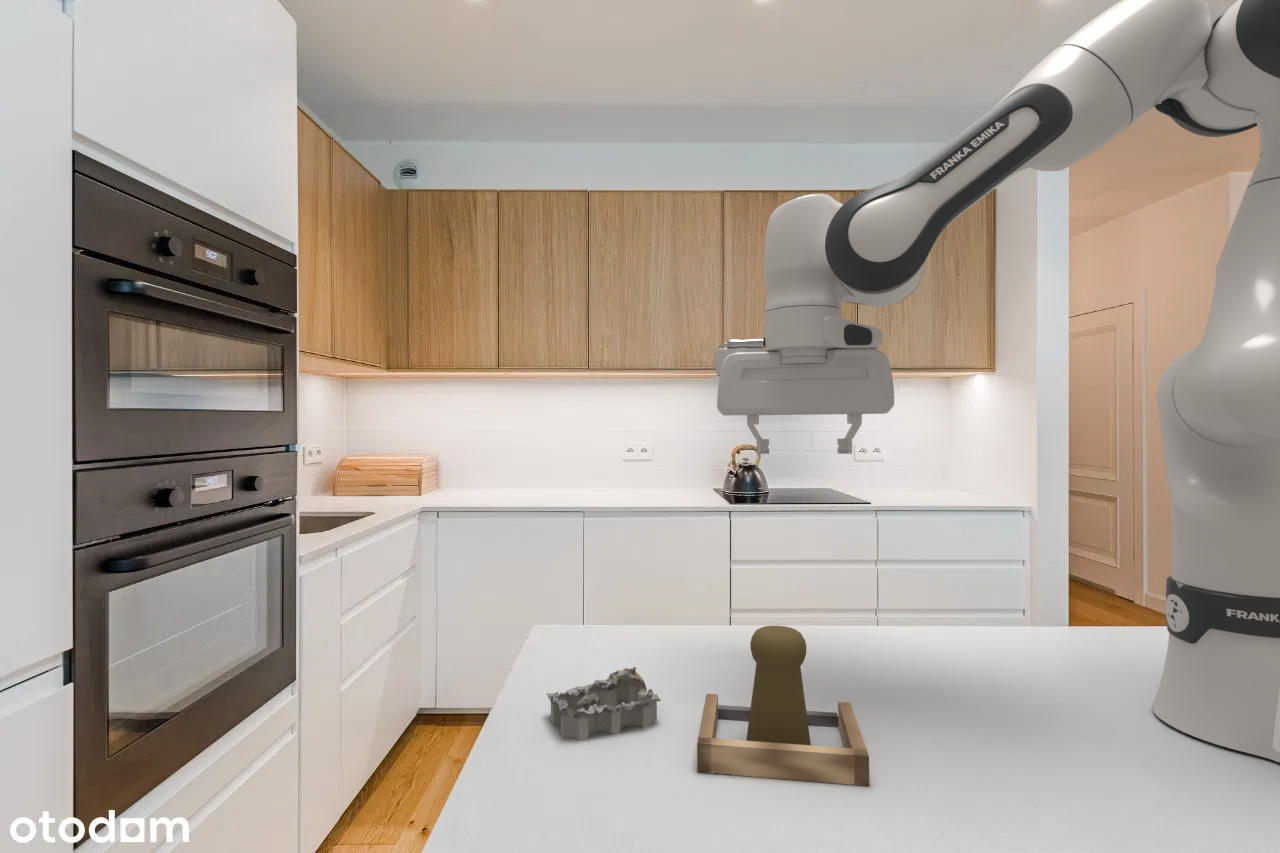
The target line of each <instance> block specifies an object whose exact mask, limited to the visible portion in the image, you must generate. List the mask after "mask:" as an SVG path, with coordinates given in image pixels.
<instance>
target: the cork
mask: <svg viewBox="0 0 1280 853" xmlns="http://www.w3.org/2000/svg"><path fill="white" fill-rule="evenodd" d="M749 644H750V652H751V657H752V659H753V660H754V661H755V672H754V680H753V685H752V696H751V702H750V707H751V708H750V716H749V721H748V724H747V725H748V726H747V734H746V740H745V741H756V742H770V743H784V744H798V745H811V746H812V744H811V738H810V737H811V735H810V728H809V725H808V720H807V712H806V711H807V708H806V707H807V705H806V699H805V692H804V683H803V675H802V669H801V668H802V667H801V666H802V664H803V663H804V662H805V659H806V655H807V643H806V640H805V638H804V636H803V634H802V633H801V632H800V631H798V630H797V629H796V628H792V627H790V626H789V627H788V626H783V625H766V626H762V627H760V628H757V629H755V631H754V632H753V634H752V636H751V639H750V643H749Z"/></svg>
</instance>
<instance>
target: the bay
mask: <svg viewBox="0 0 1280 853" xmlns="http://www.w3.org/2000/svg"><path fill="white" fill-rule="evenodd" d="M704 698H705V699H704V703H703V704H704V705H703V708H702V709H703V710H702V714H701V720H700V727H699V732H698V737H697V743H696V746H697V748H696V752H697V755H696V756H697V757H696V758H697V760H696V762H697V763H696V764H697V765H696V767H697V769H696V771H697V773H702V772H713V773H712V774H714V773H719V774H718V775H727V774H731V775H730V776H742V777H751V778H752V777H754V778H767V779H775V780H776V779H779V780H789V781H802V782H816V783H817V782H818V783H826V784H827V783H828V784H839V785H851V786H864V787H870V754H869V752H868V749H867V747H866V742H865V740H864V737H863V734H862V732H861V728H860V726H859V724H858V720H857V717H856V715H855V711H854V708H853V706H852V704H851V702H845V701H838V702H837V709H838V710H837V712H833V711H832V712H831V711H821V710H820V711H819V710H818V711H817V710H806V712H807V720H808V726H820V727H821V726H823V727H824V726H825V727H838V728H837V729H838V731H839V735H840V738H841V741H842V742H841V743H842V745H843V747H840V746H839V747H837V746H825V745H812V744H811V745H798V744H784V743H770V742H756V741H746V740H739V739H729V738H727V739H726V738H716V737H717V730H718V722H719V719H721V720H731V721H732V720H733V721H734V720H735V721H748V722H749V716H750V708H751V706H743V705H742V706H741V705H723V704H719V694H718V693H717V694H716V693H706V694H705V697H704Z"/></svg>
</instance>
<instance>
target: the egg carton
mask: <svg viewBox="0 0 1280 853" xmlns="http://www.w3.org/2000/svg"><path fill="white" fill-rule="evenodd" d="M546 696H547V699H548V701H550V722H551V724H552V725H560V736H562V738H563V739H575V740H577V741H579V742H582V741H587V740H589V736H590V735H591V734H594V733H597V732H604V733H605V732H606V733H608V734H611V735H615V734H621V732H622V728H625V727H627V726H637V727H640V728H644V729H645V728H649V727H652V725H653V721H655V720H657V717H658V716H657V715H658V714H657V713H658V704H657V703H658V702H662V700H661V698H660V697H659V695H658V694H657V693H654V690H653V689H652V688H651V689H648V688H647V685H646V683H645V680H644V678H643V677H642V676H641V675H640V673H639V672H637V667H632V668H623V669H622V670H619V669H618V670H616V671H613V672H610V673H609V676H608V677H607V679H596V680H595V681H594V682H593V683H589V684H587V685H584V686H579V685H577V686H575V687H573V688H570V689H568V690H566V691H564V692H560V693H559V692H558V691H557V692H554V693H553V692H550V693H546ZM618 704H620V706H618Z"/></svg>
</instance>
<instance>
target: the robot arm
mask: <svg viewBox="0 0 1280 853" xmlns="http://www.w3.org/2000/svg"><path fill="white" fill-rule="evenodd" d="M1153 108H1155V110H1157V111H1158V112H1160V113H1162V114H1164V115H1166V116H1168V117H1170V118H1171V119H1172V120H1173V121H1174V122H1175V124H1177V125H1178V126H1180V128H1182V129H1185V130H1186V131H1188V132H1189V133H1192V134H1195V135H1198V136H1202V137H1208V138H1210V137H1211V138H1220V137H1227V136H1232V135H1235V134H1239V133H1243V132H1246V131H1248V130H1251V129H1253V128H1255V127H1257V128H1258V134H1259V139H1260V140H1259V141H1260V145H1259V146H1260V147H1259V152H1258V158H1259V159H1258V161H1257V163H1256V165H1255V168H1254V170H1253V172H1252V174H1251V176H1250V179H1249V182H1248V184H1247V187H1246V188H1245V190H1244V194H1243V195H1242V196H1243V197H1242V198H1241V201H1240V204H1239V206H1238V209H1237V212H1236V215H1235V216H1234V220H1233V222H1232V225H1231V228H1230V230H1229V232H1228V235H1227V237H1226V241H1225V243H1224V246H1223V249H1222V251H1221V254H1220V256H1219V259H1218V262H1217V264H1216V267H1215V285H1214V290H1213V294H1212V299H1211V306H1210V308H1209V314H1208V318H1207V322H1206V326H1205V329H1204V333H1203V336H1202V338H1201V340H1200V342H1199V344H1198V346H1196V347H1192V348H1191V349H1189V350H1187V351H1185V352H1183V353H1181V354H1179V356H1177V357H1176V358H1174V360H1172V361H1171V362H1170V364H1168V366H1167V367H1166V368H1165V369H1164V371H1163V373H1162V375H1161V377H1160V379H1159V381H1158V384H1157V387H1156V403H1157V408H1158V416H1159V417H1158V418H1159V427H1160V428H1159V430H1160V437H1161V445H1162V446H1161V447H1162V452H1163V461H1164V466H1165V471H1166V472H1165V473H1166V478H1167V484H1168V489H1169V490H1168V491H1169V500H1170V501H1169V502H1170V516H1171V518H1170V521H1171V522H1170V540H1171V541H1170V547H1171V548H1170V549H1171V550H1170V551H1171V554H1170V556H1171V559H1170V560H1171V562H1170V563H1171V575H1169V576H1168V577H1167V578H1166V584H1165V586H1166V588H1165V620H1166V621H1165V622H1166V628H1167V629H1166V630H1167V632H1168V642H1167V649H1166V656H1165V661H1164V666H1163V671H1162V676H1161V680H1160V684H1159V688H1158V690H1157V693H1156V696H1155V699H1154V701H1153V703H1152V705H1151V709H1152V712H1153V714H1154V715H1155V716H1157V717H1158V718H1159V719H1160V720H1162V721H1163V722H1165V723H1166V724H1167V725H1169V726H1171V727H1173V728H1175V729H1176V730H1178V731H1181V732H1183V733H1185V734H1187V735H1189V736H1192V737H1195V738H1198V739H1200V740H1202V741H1205V742H1208V743H1211V744H1214V745H1218V746H1220V747H1225V748H1228V749H1231V750H1235V751H1239V752H1243V753H1246V754H1250V755H1254V756H1257V757H1258V756H1259V757H1262V758H1265V759H1269V760H1271V761H1274V762H1277V763H1280V0H1236V1H1235V2H1234V3H1233V4H1232V5H1231V6H1230V7H1228V8H1227V7H1226V6H1225V5H1223V6H1215V5H1212V4H1208V3H1207V2H1206V1H1205V0H1120V1H1119V2H1117V3H1116V4H1113V5H1112V6H1110V7H1109V8H1107V9H1106V10H1104V11H1103V12H1101V13H1100V14H1099V15H1097V16H1096V17H1094V18H1093V19H1092V20H1090V21H1089V22H1087V23H1086V24H1085V25H1083V26H1082V27H1081V28H1080V29H1078V30H1077V31H1076V32H1075V33H1073V34H1072V35H1070V36H1069V37H1068V38H1067V39H1065V40H1064V41H1063V42H1062V43H1061V44H1060V45H1059V46H1058V45H1057V47H1056V48H1054V49H1053V51H1052V52H1050V53H1049V54H1047V56H1045V57H1044V58H1043V59H1042V60H1041V61H1040V62H1039V63H1037V64H1036V65H1035V66H1034V67H1033V68H1032V69H1031V70H1030V71H1028V73H1026V75H1025V76H1023V78H1021V79H1020V81H1019V82H1018V83H1017V84H1016V85H1015V86H1014V87H1013V88H1012V89H1011V90H1010V91H1009V92H1008V93H1006V95H1005V96H1003V98H1002V99H1001V100H1000V101H998V103H997V104H996V105H995V106H994V107H993V108H991V109H990V110H989V111H987V112H986V113H985V114H984V115H982V116H981V117H980V118H978V119H977V120H976V121H974V122H973V123H972V124H971V125H969V126H968V127H967V128H965V129H964V130H963V131H962V132H960V133H959V134H958V135H956V136H954V138H952V139H951V140H950V141H949V142H948V143H946V144H945V145H944V146H942V147H941V148H940V149H938V150H937V151H936V152H935V153H933V154H932V155H931V156H930V157H929V158H927V159H926V160H924V161H923V162H922V163H920V164H919V165H918V166H917V167H915V168H914V169H911V171H909V172H907V173H906V174H904V175H903V176H901V177H898V178H896V179H894V180H892V181H889V182H885V183H884V184H881V185H877V186H874V187H872V188H869V189H867V190H865V191H862V192H860V193H858V194H856V195H855V196H853V197H852V198H850V199H848V200H847V201H846V202H845V203H841V202H840V201H837V200H835V199H834V198H833V197H832V196H831V195H829V194H828V193H823V192H822V193H820V192H819V193H818V192H817V193H806V194H802V195H798V196H796V197H795V196H794V197H792V198H790V199H788V200H786V201H784V202H783V203H781V204H780V205H779V206H777V207H776V208H775V209H774V210H773V212H772V213H771V215H770V217H769V219H768V222H767V225H766V232H765V238H764V248H763V249H764V252H763V253H764V254H763V278H764V284H765V287H766V291H767V295H766V296H767V298H766V303H765V305H764V310H763V312H764V315H763V316H764V318H763V322H764V323H763V324H764V327H763V328H764V337H757V338H755V337H754V338H746V339H745V338H744V339H738V338H732V339H731V338H730V339H727V340H726V342H724V343H722V344H720V345H718V346H717V347H716V349H715V352H714V356H713V357H714V359H713V360H714V361H713V363H714V364H713V368H714V370H715V372H716V374H717V375H718V376H719V379H718V385H717V398H716V401H717V402H716V408H717V409H716V410H718V412H719V413H720V414H721V415H722V416H728V417H729V416H746V421H747V422H746V424H747V426H748V429H749V430H750V432H751V433H752V436H753V437H754V439H755V440H756V454H757V455H769V454H770V448H769V446H770V439H769V438H762V435H761V434H760V433H759V431H758V429H757V427H756V426H755V425H757V426H758V425H759V424H760V416H796V415H797V416H799V415H803V416H804V415H806V416H807V415H811V416H812V415H820V416H821V415H846V424H849V425H850V424H851V426H850V427H849V429H848V431H847V433H846V435H845V436H844V438H836V439H837V441H836V443H837V450H836V452H837V454H838V455H841V454H842V455H850V454H853V439H854V438H855V436H856V435H857V433H858V431H859V429H860V428H861V426H862V424H863V415H885V414H888V413H889V412H890V411H891V410H892V409H893V408H894V406H895V389H894V379H893V373H892V368H891V363H890V361H889V358H888V356H887V355H886V354H885V353H884V352H883V351H882V350H880V349H879V348H880V346H882V344H883V332H882V330H881V329H879V328H878V327H874V326H870V325H867V324H862V323H859V322H855V321H853V320H852V321H851V320H848V319H845V318H842V310H841V309H842V304H843V303H848V304H855V305H862V306H863V305H864V306H870V307H871V306H872V307H886V306H887V307H888V306H891V305H895V304H897V303H899V302H902V301H903V300H905V299H907V298H908V297H909V296H910V295H911V294H913V292H915V291H916V289H917V288H918V286H919V285H920V283H921V281H922V279H923V276H924V272H925V268H926V265H927V258H929V255H930V253H931V250H932V249H933V246H934V244H935V242H936V241H937V239H938V238H939V236H941V233H942V232H943V231H944V230H945V229H946V228H947V227H948V226H949V225H950V224H951V223H952V222H954V221H955V220H956V219H957V218H958V217H960V216H962V215H963V214H964V213H965V212H966V211H967V210H969V209H970V208H971V207H973V206H974V205H975V204H977V203H978V202H979V201H980V200H982V199H983V198H985V197H986V196H987V195H988V194H990V193H991V192H993V190H995V189H996V188H998V187H999V186H1000V185H1002V184H1003V183H1004V182H1005V181H1006V180H1008V179H1010V178H1011V177H1012V176H1014V175H1015V174H1018V173H1020V172H1021V171H1023V170H1026V169H1033V170H1035V171H1040V172H1058V171H1063V170H1065V169H1067V168H1069V167H1071V166H1073V165H1074V164H1076V163H1078V162H1080V161H1082V160H1084V158H1087V157H1088V156H1090V155H1091V154H1093V153H1095V152H1097V151H1098V150H1100V149H1101V148H1103V147H1104V146H1105V145H1107V144H1108V143H1110V142H1112V140H1114V139H1115V138H1116V137H1118V136H1119V135H1120V134H1121V133H1123V132H1124V131H1125V130H1127V129H1128V128H1129V127H1130V126H1131V125H1133V123H1136V121H1138V120H1139V119H1140V118H1141V117H1143V116H1144V115H1145V114H1146V113H1147V112H1149V111H1150V110H1151V109H1153ZM724 347H726V348H724Z"/></svg>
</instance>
